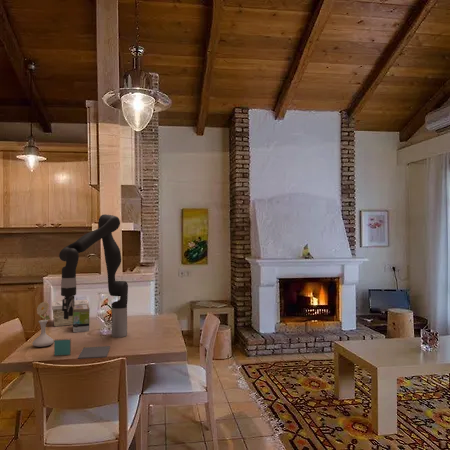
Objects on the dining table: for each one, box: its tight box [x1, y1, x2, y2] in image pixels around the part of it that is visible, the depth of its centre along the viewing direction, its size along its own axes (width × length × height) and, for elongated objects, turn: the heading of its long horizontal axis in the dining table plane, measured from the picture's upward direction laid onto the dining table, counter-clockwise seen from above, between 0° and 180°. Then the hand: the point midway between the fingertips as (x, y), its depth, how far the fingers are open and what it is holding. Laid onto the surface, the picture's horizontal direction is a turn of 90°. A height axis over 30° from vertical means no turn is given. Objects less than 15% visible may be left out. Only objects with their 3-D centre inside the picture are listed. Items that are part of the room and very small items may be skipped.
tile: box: [53, 337, 72, 356], centre depth 215 cm, size 2×8×8 cm, turn 100°
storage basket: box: [51, 299, 90, 328], centre depth 286 cm, size 24×16×15 cm
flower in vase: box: [31, 301, 55, 348], centre depth 231 cm, size 13×11×25 cm
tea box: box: [72, 305, 91, 333], centre depth 268 cm, size 15×10×15 cm, turn 22°
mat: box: [77, 345, 111, 360], centre depth 218 cm, size 18×14×1 cm
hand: (68, 317), depth 216 cm, fingers open, 8 cm apart
